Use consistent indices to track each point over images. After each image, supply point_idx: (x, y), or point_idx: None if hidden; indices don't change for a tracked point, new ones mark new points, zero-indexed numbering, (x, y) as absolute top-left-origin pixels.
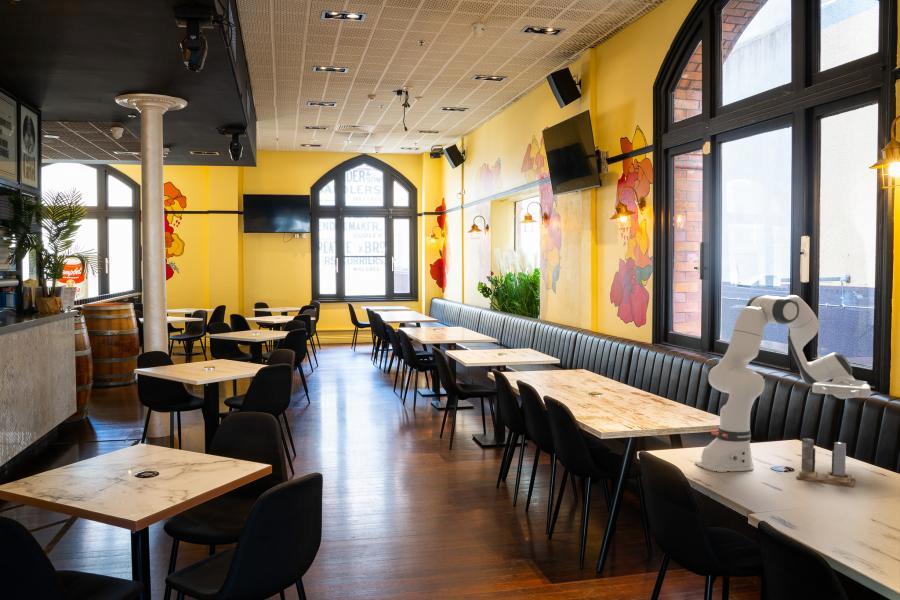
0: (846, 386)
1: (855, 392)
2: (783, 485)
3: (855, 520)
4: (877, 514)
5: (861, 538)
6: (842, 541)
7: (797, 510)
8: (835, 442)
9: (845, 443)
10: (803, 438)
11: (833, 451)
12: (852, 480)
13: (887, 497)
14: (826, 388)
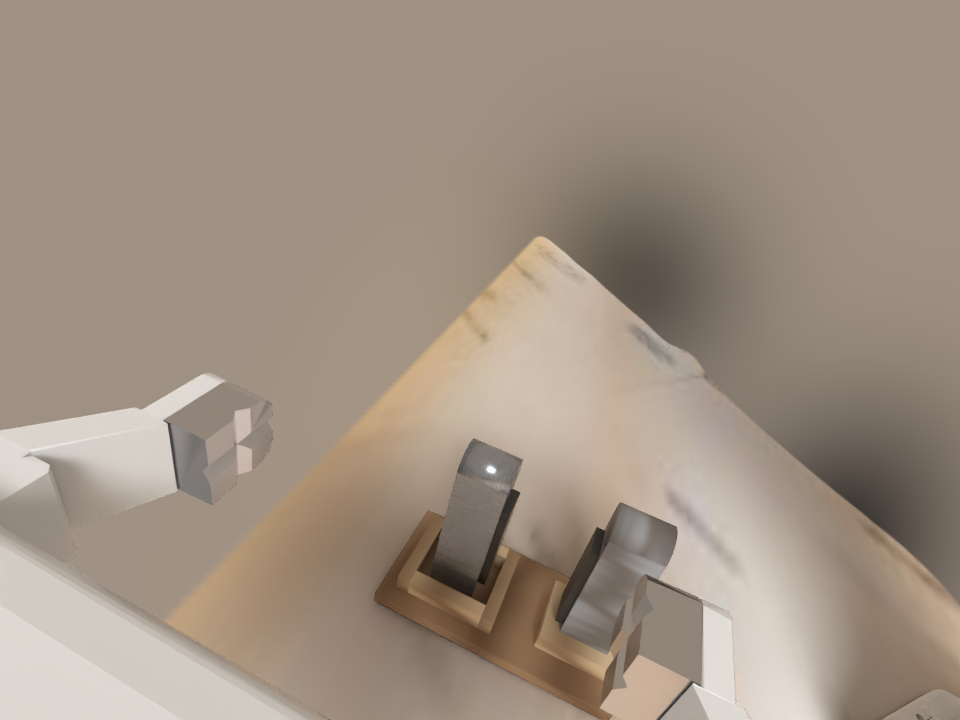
0: (92, 645)
1: (220, 381)
2: None
3: (520, 337)
4: (460, 353)
5: (534, 294)
6: (565, 292)
7: (625, 378)
8: (516, 459)
9: (472, 441)
10: (672, 529)
11: (511, 499)
12: (405, 559)
13: (360, 437)
14: (683, 676)
